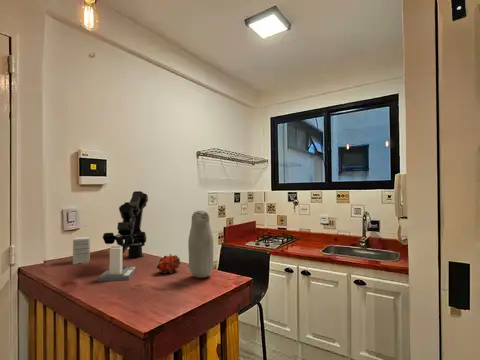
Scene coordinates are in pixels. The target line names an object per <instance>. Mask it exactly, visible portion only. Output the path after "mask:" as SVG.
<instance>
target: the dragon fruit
mask: <svg viewBox="0 0 480 360" xmlns="http://www.w3.org/2000/svg"><path fill="white" fill-rule="evenodd" d="M180 266H181V258H179V257H178V255H176V254H175V255H172V254H171V253H170V254H169V255H164V256H163V257H162V258H160V259H159V261H158V263H157V266H156V269H158V270H159V271H158V272H159V274H167V273H170V274H172V273H174V272H175V271H176V270H177V269H179V268H180Z"/></svg>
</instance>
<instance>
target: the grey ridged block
mask: <svg viewBox="0 0 480 360" xmlns="http://www.w3.org/2000/svg"><path fill="white" fill-rule="evenodd" d="M90 252H91V237H90V236H80V237H79V236H77V237H74V238H73V240H72V265H79V264H78V263H82V264H89V263H88V262H90V261H91V258H90V257H91V253H90Z"/></svg>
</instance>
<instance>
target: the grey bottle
mask: <svg viewBox="0 0 480 360" xmlns="http://www.w3.org/2000/svg"><path fill="white" fill-rule="evenodd" d="M190 225H191V226H190V230H189V235H188V241H187V242H188V243H187V244H188V246H187V247H188V248H187V249H188V269H189V272H190V273H191V275H192V276H193V277H195V278H198V279H205V278H207V277H209V276H210V275H211V273H212V271H213V268H214V236H213V232H212V229H211V224H210V215H209V213H208V212H207V211H205V210H196V211H194V212H193V213H192V215H191V223H190Z"/></svg>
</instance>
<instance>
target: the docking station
mask: <svg viewBox="0 0 480 360" xmlns="http://www.w3.org/2000/svg"><path fill="white" fill-rule="evenodd" d="M136 271H137V266H131V265H122V273H121V274H110V267H109V268H107V269H106V270H105V271H104V272H103V273H101V275H100V276H98V277H97V282H99V283H100V282H112V281H113V282H114V281H115V282H116V281H128V280H129V281H130V280H131V278H132V277H133V275H134V273H136Z"/></svg>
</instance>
